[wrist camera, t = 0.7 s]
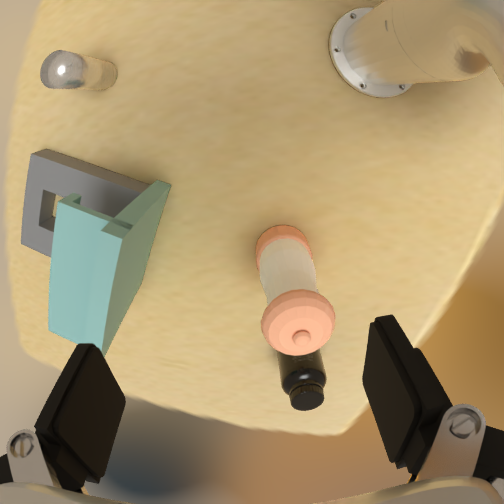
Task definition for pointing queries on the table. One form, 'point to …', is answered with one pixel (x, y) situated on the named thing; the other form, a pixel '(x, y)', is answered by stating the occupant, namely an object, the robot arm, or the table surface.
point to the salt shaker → (292, 293)
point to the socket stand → (89, 241)
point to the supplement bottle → (303, 379)
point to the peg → (77, 72)
